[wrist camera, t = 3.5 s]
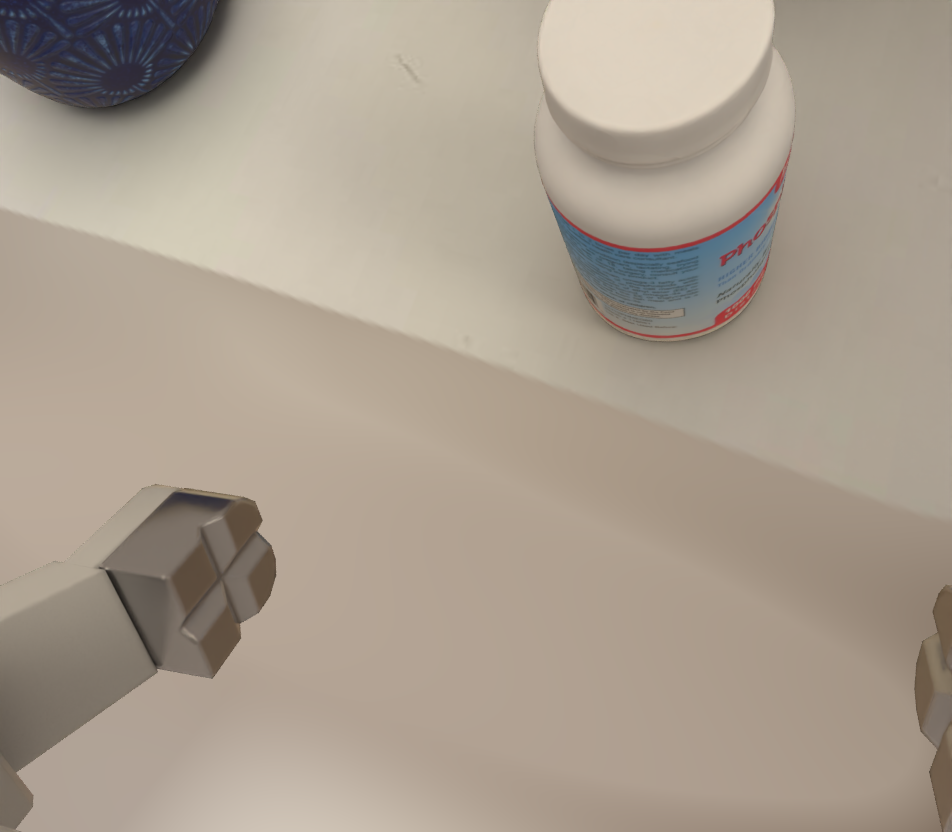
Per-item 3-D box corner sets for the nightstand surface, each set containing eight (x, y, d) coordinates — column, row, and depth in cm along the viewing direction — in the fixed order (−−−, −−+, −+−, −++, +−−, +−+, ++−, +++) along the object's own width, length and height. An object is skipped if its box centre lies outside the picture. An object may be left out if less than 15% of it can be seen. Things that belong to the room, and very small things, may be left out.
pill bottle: (763, 349, 23) (817, 159, 13) (573, 345, 25) (484, 175, 15) (769, 175, 25) (825, -130, 14) (587, 183, 26) (515, -82, 16)
